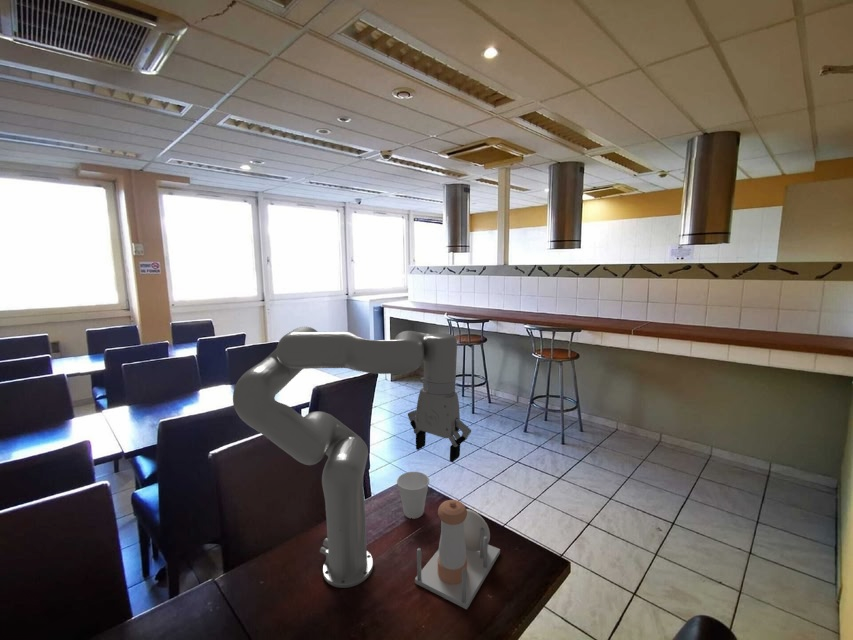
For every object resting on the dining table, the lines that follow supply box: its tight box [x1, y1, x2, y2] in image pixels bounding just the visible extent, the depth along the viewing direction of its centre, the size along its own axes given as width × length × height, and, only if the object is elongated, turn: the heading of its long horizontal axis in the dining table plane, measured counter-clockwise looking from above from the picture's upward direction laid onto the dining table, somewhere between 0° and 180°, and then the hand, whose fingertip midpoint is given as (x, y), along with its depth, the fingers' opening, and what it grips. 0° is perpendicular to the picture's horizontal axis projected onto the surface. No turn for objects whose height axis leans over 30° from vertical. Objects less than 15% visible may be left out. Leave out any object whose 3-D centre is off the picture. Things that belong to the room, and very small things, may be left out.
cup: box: [396, 471, 430, 520], centre depth 122 cm, size 10×10×11 cm
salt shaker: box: [437, 499, 468, 584], centre depth 97 cm, size 7×7×19 cm
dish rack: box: [414, 508, 501, 610], centre depth 100 cm, size 14×20×12 cm
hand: (436, 453), depth 97 cm, fingers open, 9 cm apart
